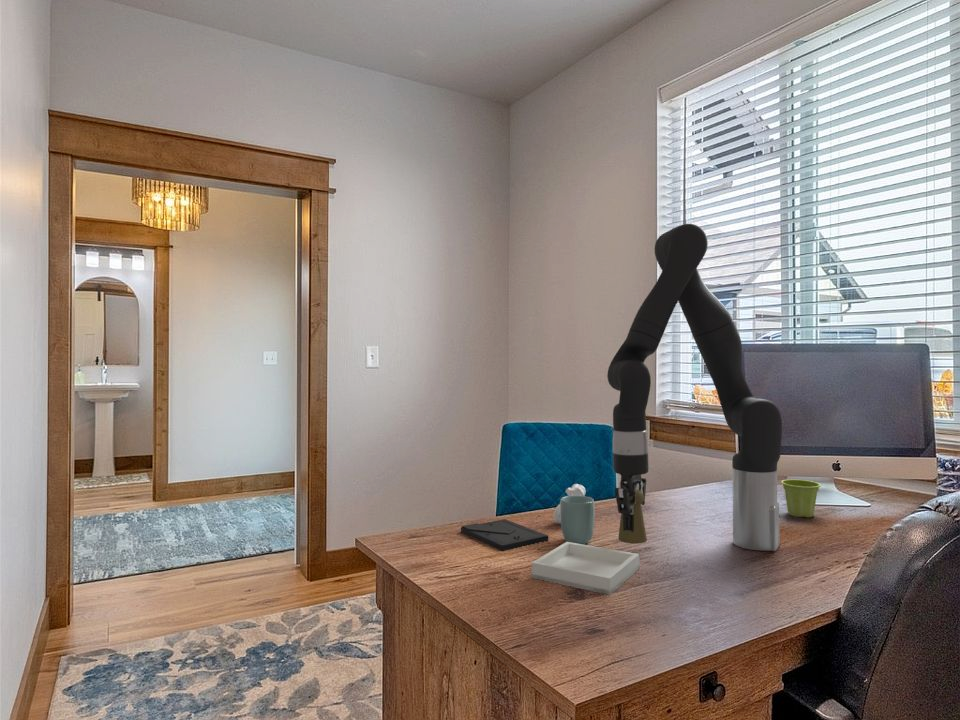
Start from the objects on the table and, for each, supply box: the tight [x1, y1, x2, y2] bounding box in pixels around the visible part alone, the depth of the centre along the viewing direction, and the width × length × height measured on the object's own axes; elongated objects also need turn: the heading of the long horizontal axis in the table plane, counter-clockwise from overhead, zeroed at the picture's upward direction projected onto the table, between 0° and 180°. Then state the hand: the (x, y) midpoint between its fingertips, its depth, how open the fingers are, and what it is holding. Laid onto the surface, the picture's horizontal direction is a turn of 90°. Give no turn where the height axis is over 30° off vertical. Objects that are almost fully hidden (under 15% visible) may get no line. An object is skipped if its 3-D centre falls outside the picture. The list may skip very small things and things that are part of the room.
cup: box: [559, 495, 595, 545], centre depth 140 cm, size 8×8×10 cm
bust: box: [553, 483, 587, 525], centre depth 156 cm, size 12×8×11 cm
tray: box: [531, 541, 641, 596], centre depth 119 cm, size 16×16×3 cm
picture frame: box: [460, 519, 549, 552], centre depth 145 cm, size 13×2×18 cm
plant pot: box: [781, 479, 822, 519], centre depth 163 cm, size 9×9×9 cm
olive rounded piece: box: [618, 490, 648, 545], centre depth 132 cm, size 6×6×11 cm
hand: (632, 528), depth 132 cm, fingers closed on olive rounded piece, 4 cm apart
